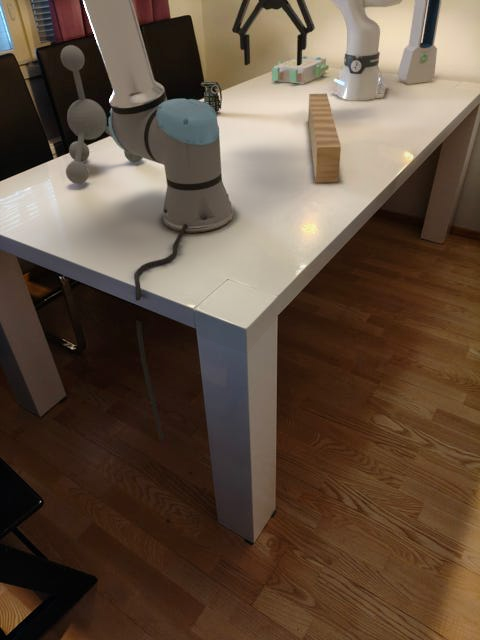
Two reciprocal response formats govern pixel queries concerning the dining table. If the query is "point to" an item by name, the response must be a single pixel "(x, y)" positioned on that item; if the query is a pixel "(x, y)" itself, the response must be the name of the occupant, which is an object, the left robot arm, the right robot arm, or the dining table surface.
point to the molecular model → (83, 119)
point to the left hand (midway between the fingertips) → (272, 64)
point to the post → (323, 139)
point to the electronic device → (421, 44)
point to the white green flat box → (299, 70)
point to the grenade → (212, 95)
